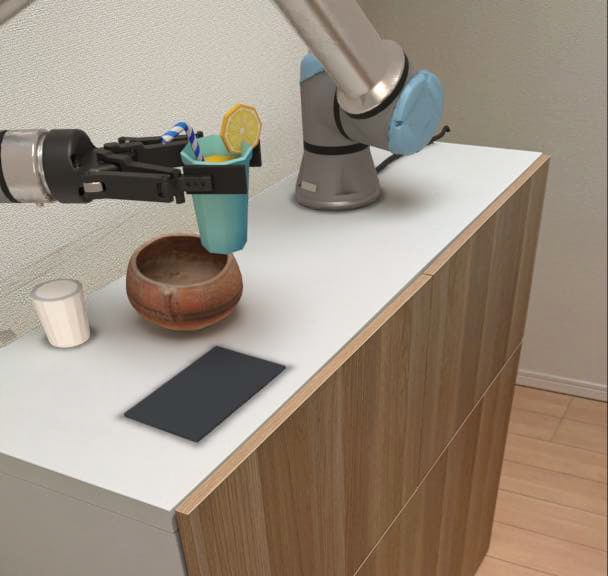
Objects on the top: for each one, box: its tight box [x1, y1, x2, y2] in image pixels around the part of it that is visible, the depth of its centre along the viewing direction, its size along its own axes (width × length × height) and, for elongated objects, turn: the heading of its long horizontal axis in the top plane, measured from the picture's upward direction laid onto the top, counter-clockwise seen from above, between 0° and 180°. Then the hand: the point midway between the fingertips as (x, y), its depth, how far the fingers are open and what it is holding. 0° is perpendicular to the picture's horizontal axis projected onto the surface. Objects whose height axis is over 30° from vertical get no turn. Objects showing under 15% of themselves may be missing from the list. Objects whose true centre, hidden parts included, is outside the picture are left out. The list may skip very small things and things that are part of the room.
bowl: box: [125, 232, 244, 331], centre depth 104 cm, size 16×16×10 cm
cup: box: [160, 102, 263, 254], centre depth 84 cm, size 14×8×15 cm, turn 145°
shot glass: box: [29, 278, 91, 349], centre depth 103 cm, size 7×7×7 cm
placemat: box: [123, 345, 287, 443], centre depth 94 cm, size 18×11×1 cm, turn 148°
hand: (253, 165), depth 83 cm, fingers closed on cup, 8 cm apart
